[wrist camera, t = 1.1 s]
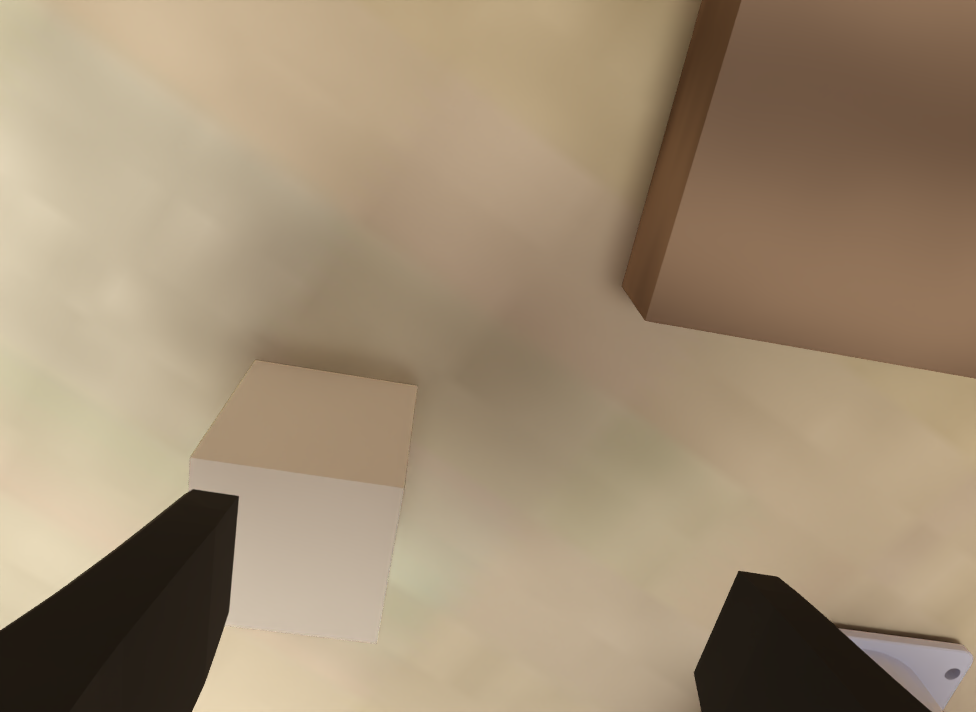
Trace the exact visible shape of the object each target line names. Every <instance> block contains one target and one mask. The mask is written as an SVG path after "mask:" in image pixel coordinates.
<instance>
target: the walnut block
mask: <svg viewBox="0 0 976 712" xmlns="http://www.w3.org/2000/svg"><path fill="white" fill-rule="evenodd" d="M622 287H623V289H624V290H625V292H626V293H627V295H628V296H629V298H630V299H631V301H632V302H633V304H634V305H635V307H636V308H637V310H638V311H639V312H640V314H641V315H642V317H643V318H644V320H645V321H649V322H655V323H661V324H667V325H672V326H678V327H684V328H690V329H695V330H701V331H707V332H712V333H718V334H724V335H730V336H735V337H741V338H747V339H753V340H758V341H764V342H770V343H776V344H781V345H787V346H793V347H798V348H804V349H810V350H816V351H821V352H827V353H833V354H839V355H844V356H850V357H856V358H861V359H867V360H873V361H879V362H884V363H890V364H896V365H902V366H907V367H913V368H919V369H925V370H930V371H936V372H942V373H947V374H953V375H959V376H965V377H970V378H976V0H702V2H701V6H700V10H699V13H698V17H697V20H696V24H695V27H694V31H693V35H692V38H691V42H690V45H689V49H688V52H687V56H686V59H685V63H684V67H683V70H682V74H681V77H680V81H679V84H678V88H677V92H676V95H675V99H674V102H673V106H672V109H671V113H670V116H669V120H668V124H667V127H666V131H665V134H664V138H663V141H662V145H661V149H660V152H659V156H658V159H657V163H656V166H655V170H654V173H653V177H652V181H651V184H650V188H649V191H648V195H647V198H646V202H645V206H644V209H643V213H642V216H641V220H640V223H639V227H638V230H637V234H636V238H635V241H634V245H633V248H632V252H631V255H630V259H629V263H628V266H627V270H626V273H625V277H624V280H623V284H622Z"/></svg>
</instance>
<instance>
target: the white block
mask: <svg viewBox="0 0 976 712" xmlns="http://www.w3.org/2000/svg"><path fill="white" fill-rule="evenodd" d="M417 387H418V386H416V385H410V384H404V383H397V382H391V381H385V380H378V379H372V378H366V377H360V376H353V375H347V374H341V373H334V372H328V371H322V370H316V369H309V368H303V367H297V366H290V365H284V364H278V363H272V362H265V361H259V360H255V361H254V362H253V364H252V365H251V367H250V368H249V370H248V371H247V373H246V374H245V376H244V377H243V379H242V380H241V382H240V383H239V385H238V386H237V388H236V389H235V391H234V392H233V394H232V395H231V397H230V398H229V400H228V401H227V403H226V404H225V406H224V407H223V409H222V410H221V412H220V413H219V415H218V416H217V418H216V419H215V421H214V422H213V424H212V425H211V427H210V428H209V430H208V431H207V433H206V434H205V436H204V437H203V439H202V440H201V442H200V443H199V445H198V446H197V448H196V449H195V451H194V452H193V454H192V455H191V457H190V466H189V491H191V490H192V489H196V490H203V491H209V492H216V493H223V494H229V495H236V496H239V503H238V515H237V526H236V538H235V550H234V561H233V573H232V585H231V596H230V608H229V614H228V617H227V620H226V623H225V626H230V627H239V628H247V629H255V630H264V631H272V632H281V633H289V634H298V635H306V636H314V637H323V638H331V639H340V640H348V641H357V642H365V643H373V644H377V640H378V635H379V629H380V623H381V618H382V612H383V606H384V601H385V595H386V589H387V584H388V578H389V572H390V567H391V561H392V555H393V550H394V544H395V538H396V533H397V527H398V521H399V516H400V510H401V504H402V499H403V493H404V487H405V479H406V472H407V464H408V456H409V449H410V441H411V433H412V426H413V418H414V410H415V403H416V395H417Z"/></svg>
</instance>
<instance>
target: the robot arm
mask: <svg viewBox="0 0 976 712" xmlns="http://www.w3.org/2000/svg"><path fill="white" fill-rule="evenodd" d="M238 503H239V496H236V495H229V494H223V493H216V492H209V491H203V490H196V489H192V490H191V491H189V492H188V493H186V494H185V495H183V496H182V497H181V498H179V499H178V500H177V501H176V502H174V503H173V504H172V505H171V506H169V507H168V508H167V509H166V510H164V511H163V512H162V513H161V514H159V515H158V516H157V517H156V518H154V519H153V520H152V521H151V522H149V523H148V524H147V525H146V526H144V527H143V528H142V529H140V530H139V531H138V532H137V533H135V534H134V535H133V536H132V537H130V538H129V539H128V540H126V541H125V542H124V543H123V544H121V545H120V546H119V547H117V548H116V549H115V550H113V551H112V552H111V553H109V554H108V555H107V556H105V557H104V558H103V559H101V560H100V561H99V562H97V563H96V564H95V565H93V566H92V567H91V568H89V569H88V570H86V571H85V572H84V573H82V574H81V575H80V576H78V577H77V578H76V579H74V580H73V581H72V582H70V583H69V584H68V585H66V586H65V587H63V588H62V589H61V590H59V591H58V592H56V593H55V594H54V595H52V596H51V597H49V598H48V599H46V600H45V601H43V602H42V603H40V604H39V605H37V606H36V607H34V608H33V609H31V610H30V611H28V612H27V613H26V614H24V615H23V616H21V617H20V618H18V619H17V620H15V621H14V622H12V623H11V624H9V625H8V626H6V627H5V628H3V629H2V630H0V712H192V710H193V708H194V706H195V704H196V702H197V699H198V697H199V695H200V693H201V691H202V688H203V686H204V684H205V681H206V678H207V676H208V673H209V670H210V667H211V664H212V661H213V658H214V656H215V653H216V650H217V647H218V644H219V641H220V638H221V635H222V632H223V629H224V626H225V623H226V620H227V617H228V614H229V608H230V596H231V585H232V573H233V561H234V550H235V538H236V526H237V515H238ZM972 662H973V655H972V654H971V653H970V652H969V651H968V649H967V648H966V647H965V646H964V645H961V644H956V643H948V642H940V641H932V640H925V639H917V638H909V637H901V636H894V635H886V634H878V633H871V632H863V631H855V630H847V629H840V628H837V627H836V626H835V625H834V624H833V623H832V622H831V621H829V620H828V619H827V618H826V617H825V616H824V615H823V614H822V613H820V612H819V611H818V610H817V609H816V608H815V607H814V606H813V605H811V604H810V603H809V602H808V601H807V600H806V599H804V598H803V597H802V596H801V595H800V594H799V593H797V592H796V591H795V590H794V589H793V588H791V587H790V586H789V585H787V584H786V583H785V582H784V581H782V580H781V579H780V578H778V577H776V576H769V575H763V574H756V573H749V572H743V571H738V574H737V576H736V578H735V580H734V583H733V585H732V587H731V590H730V592H729V594H728V596H727V599H726V601H725V603H724V605H723V608H722V610H721V612H720V614H719V617H718V619H717V621H716V624H715V626H714V628H713V630H712V633H711V635H710V637H709V639H708V642H707V644H706V646H705V649H704V651H703V653H702V655H701V658H700V660H699V662H698V664H697V667H696V669H695V671H694V676H695V681H696V686H697V691H698V696H699V701H700V706H701V711H702V712H943V709H944V708H945V706H946V704H947V703H948V701H949V700H950V698H951V696H952V695H953V693H954V692H955V690H956V688H957V687H958V685H959V684H960V682H961V680H962V679H963V677H964V676H965V674H966V672H967V671H968V669H969V668H970V666H971V664H972Z"/></svg>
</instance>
